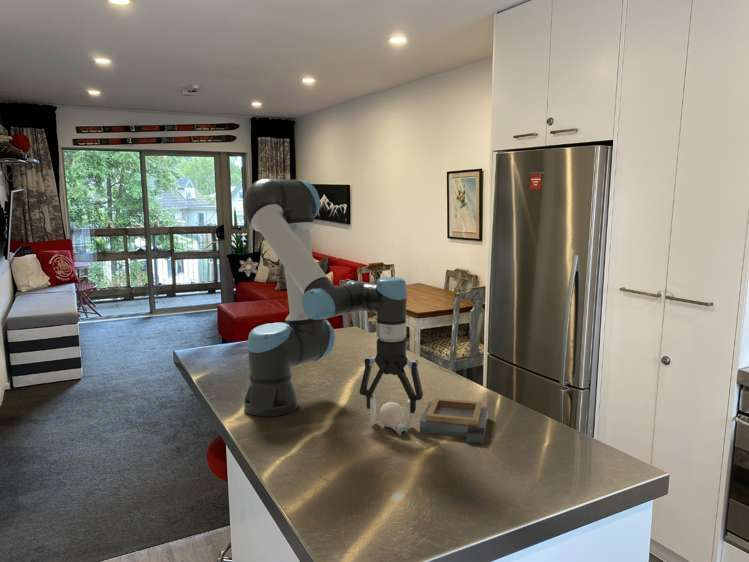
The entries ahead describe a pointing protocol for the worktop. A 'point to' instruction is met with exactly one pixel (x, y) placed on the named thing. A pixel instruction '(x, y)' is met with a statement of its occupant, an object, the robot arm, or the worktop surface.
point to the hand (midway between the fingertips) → (390, 422)
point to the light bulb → (393, 417)
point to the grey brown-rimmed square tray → (455, 419)
